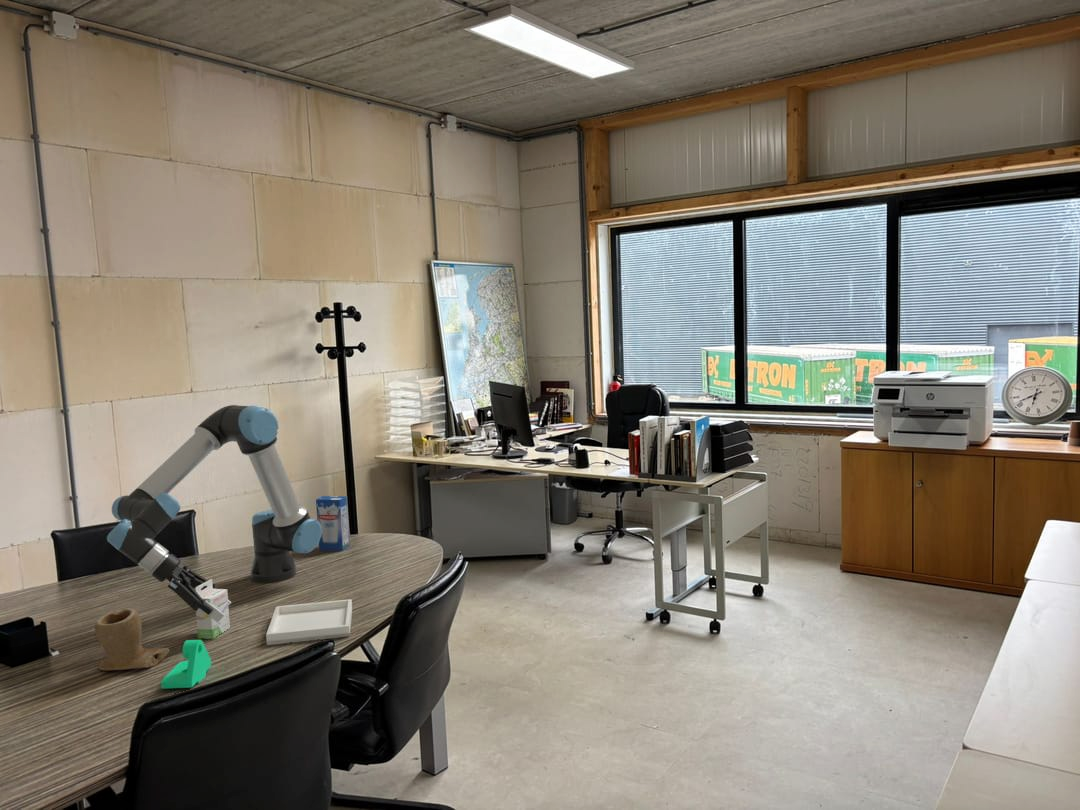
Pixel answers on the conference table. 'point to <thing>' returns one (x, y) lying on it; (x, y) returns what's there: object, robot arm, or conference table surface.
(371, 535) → the conference table surface
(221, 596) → the ink box
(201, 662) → the camera mount
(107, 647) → the stone cup
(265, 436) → the robot arm
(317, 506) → the milk carton
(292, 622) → the tray
